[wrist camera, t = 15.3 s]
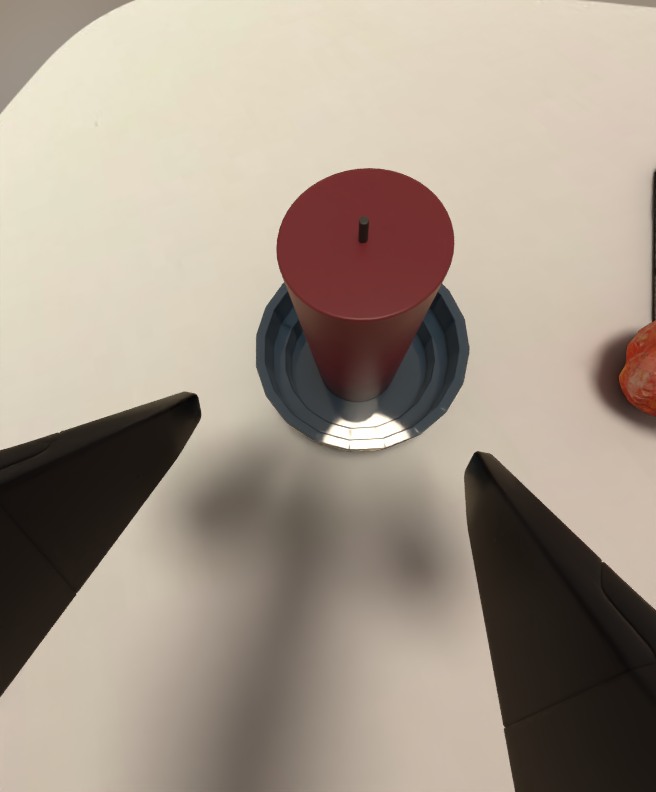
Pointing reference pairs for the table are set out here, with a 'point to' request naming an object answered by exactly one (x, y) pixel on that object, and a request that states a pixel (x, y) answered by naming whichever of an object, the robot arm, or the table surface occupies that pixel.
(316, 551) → the table surface
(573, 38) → the table surface
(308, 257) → the candle
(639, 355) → the pomegranate
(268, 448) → the table surface
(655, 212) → the phone
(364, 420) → the bowl
